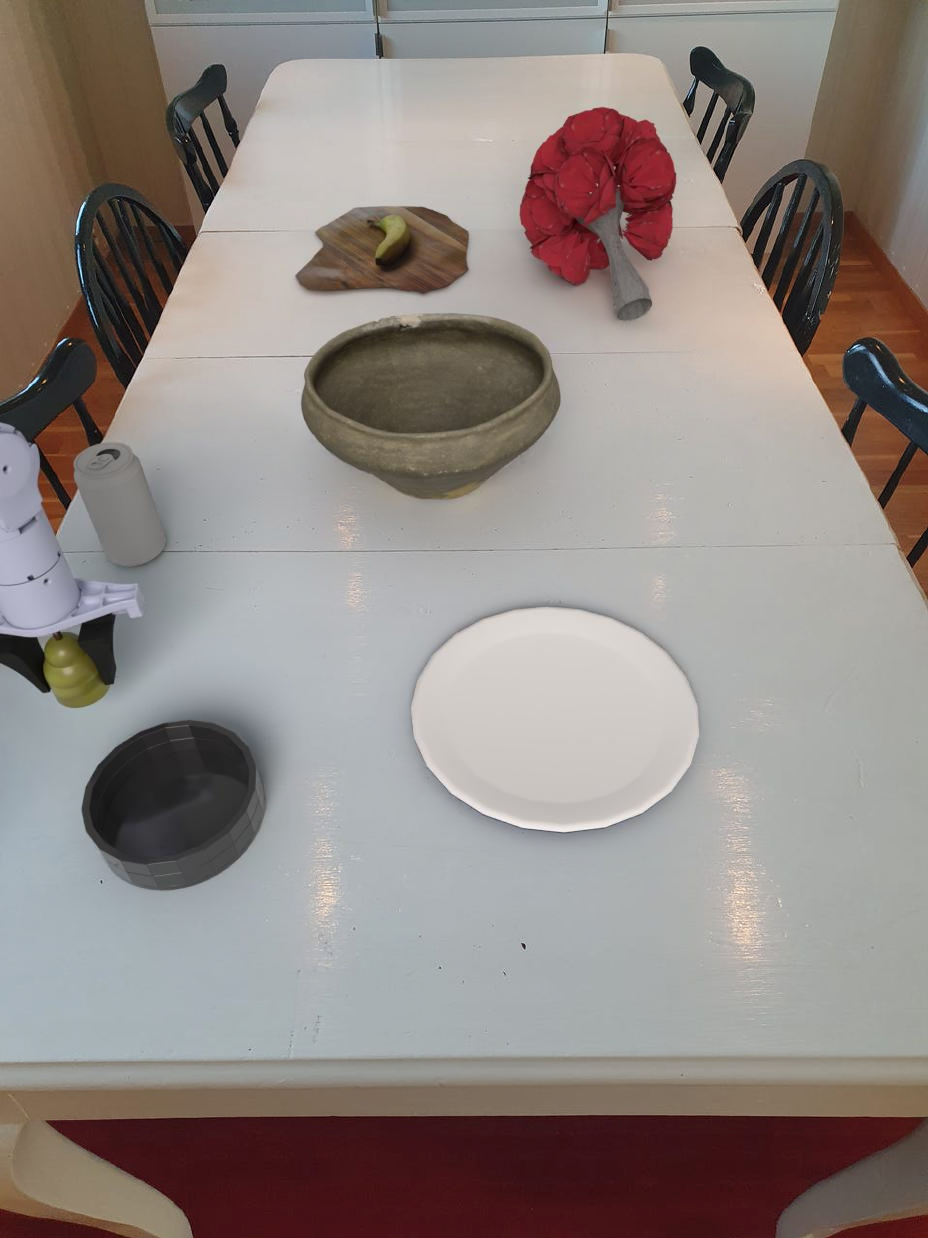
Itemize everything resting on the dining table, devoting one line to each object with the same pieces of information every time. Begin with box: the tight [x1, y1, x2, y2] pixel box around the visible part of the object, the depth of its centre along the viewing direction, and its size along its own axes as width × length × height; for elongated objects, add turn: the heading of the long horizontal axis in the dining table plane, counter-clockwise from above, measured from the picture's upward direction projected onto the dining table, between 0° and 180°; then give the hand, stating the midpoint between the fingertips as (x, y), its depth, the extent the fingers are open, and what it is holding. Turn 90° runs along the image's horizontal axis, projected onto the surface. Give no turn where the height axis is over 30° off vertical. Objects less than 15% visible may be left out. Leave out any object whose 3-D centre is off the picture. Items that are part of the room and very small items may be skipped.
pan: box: [80, 719, 266, 891], centre depth 72 cm, size 13×13×4 cm
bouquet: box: [519, 106, 677, 321], centre depth 131 cm, size 22×24×30 cm
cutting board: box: [294, 205, 469, 294], centre depth 148 cm, size 35×27×4 cm
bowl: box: [300, 312, 562, 500], centre depth 100 cm, size 28×28×14 cm
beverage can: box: [73, 441, 167, 568], centre depth 92 cm, size 6×6×12 cm
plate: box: [410, 606, 700, 834], centre depth 79 cm, size 25×25×1 cm
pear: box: [43, 631, 111, 709], centre depth 75 cm, size 5×5×7 cm
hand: (80, 680), depth 77 cm, fingers closed on pear, 4 cm apart
